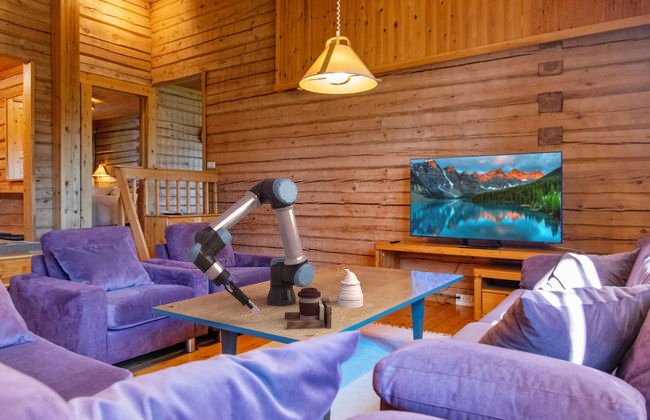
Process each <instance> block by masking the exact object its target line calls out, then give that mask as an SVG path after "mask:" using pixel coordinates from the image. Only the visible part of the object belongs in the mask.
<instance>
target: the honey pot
mask: <svg viewBox="0 0 650 420" xmlns="http://www.w3.org/2000/svg"><path fill="white" fill-rule="evenodd" d="M343 270H344V273H345V276H344V278H343V280H340V284H341V285H340V287H339V290H338V293H337V306H338V307H341V308H344V309H345V308H347V309H355V308H356V309H357V307H358V308H361V306H362V307H363V305H364V294H363V291H362V287H361V285H360V284H361V282H360V281H359V280H358V278H357V275H356V274H355V273H354V272H352V271H350V269H349V268H345V269H343Z"/></svg>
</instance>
